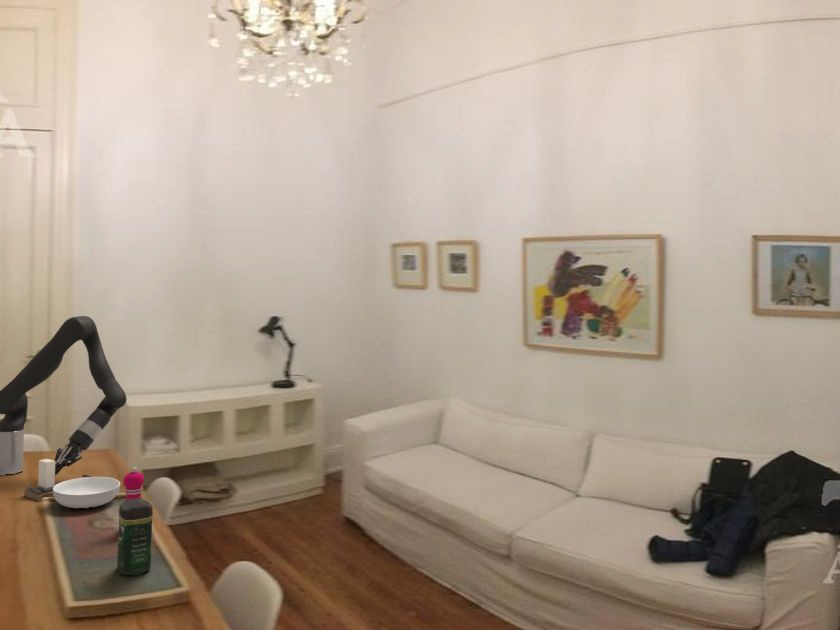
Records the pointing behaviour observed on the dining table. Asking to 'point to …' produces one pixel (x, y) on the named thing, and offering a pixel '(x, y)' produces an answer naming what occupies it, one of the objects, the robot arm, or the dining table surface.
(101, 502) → the serving bowl
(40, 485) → the block
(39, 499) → the brown flat rectangular board
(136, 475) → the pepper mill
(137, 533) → the green labelled bottle
